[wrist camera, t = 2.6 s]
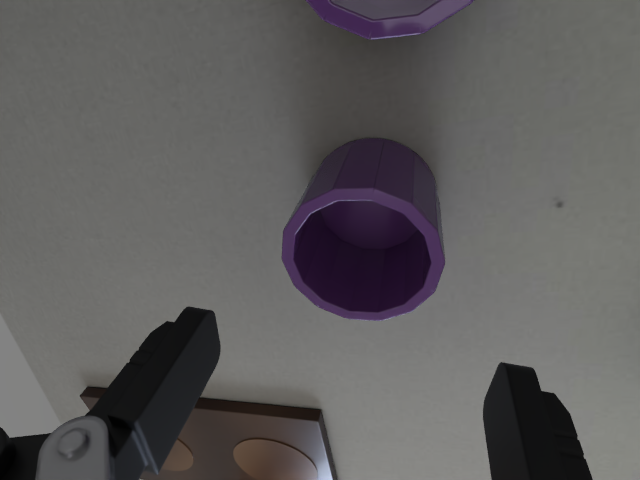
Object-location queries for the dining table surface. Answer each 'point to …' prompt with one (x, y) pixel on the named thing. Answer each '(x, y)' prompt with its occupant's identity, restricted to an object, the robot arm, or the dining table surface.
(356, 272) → the ramekin
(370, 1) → the ramekin
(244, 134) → the dining table surface
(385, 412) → the dining table surface
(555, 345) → the dining table surface
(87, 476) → the robot arm
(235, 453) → the serving board
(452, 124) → the dining table surface
